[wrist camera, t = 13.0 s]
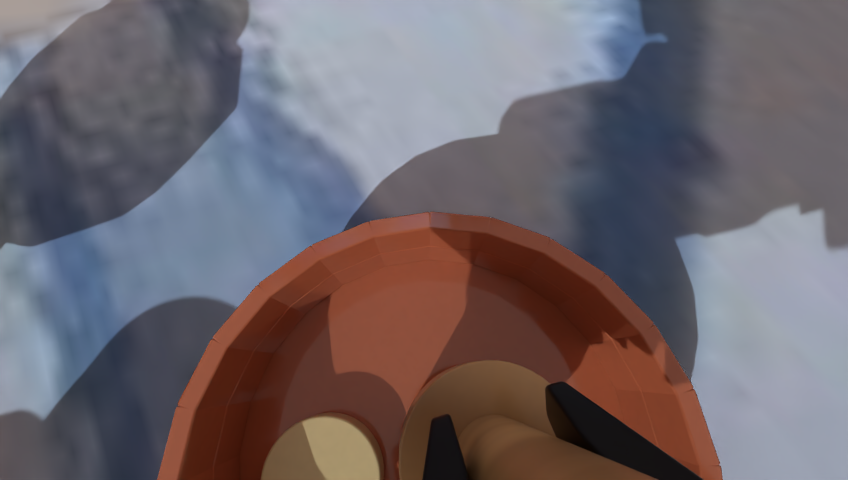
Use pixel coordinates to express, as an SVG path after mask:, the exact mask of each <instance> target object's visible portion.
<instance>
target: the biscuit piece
mask: <svg viewBox="0 0 848 480" xmlns="http://www.w3.org/2000/svg"><path fill="white" fill-rule="evenodd" d="M383 479H384V463H383V457H382V453H381V450H380V447H379V445H378V442H377V441H376V439H375V437H374V435H373V434H372V433H371V431H370V430H369V429H368V428H367V427H366V426H365V425H364V424H363V423H361V422H360V421H359V420H357V419H355V418H353V417H351V416H349V415H346V414H342V413H335V412H328V413H321V414H317V415H314V416H311V417H309V418H306V419H304V420H301V421H299V422H297V423H296V424H294V425H293V426H291V427H290V428H288V429H287V430H286V431H285V432H284V433H283V434H282V435H281V436H280V437H279V438H278V439H277V441H276V442H275V443H274V445H273V446H272V448H271V450H270V451H269V453H268V455H267V458H266V460H265V462H264V466H263V469H262V474H261V480H383Z"/></svg>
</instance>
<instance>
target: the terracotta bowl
mask: <svg viewBox="0 0 848 480" xmlns="http://www.w3.org/2000/svg"><path fill="white" fill-rule="evenodd" d="M653 324H654V323H653V322H652V320H651V319H650V318H649V317H648V316H647V315H646V314H645V313H644V312H643V311H642V310H641V309H640V308H639V307H638V306H637V305H636V304H635V303H634V302H633V301H632V300H631V299H630V298H629V297H628V296H627V295H626V294H625V293H624V292H623V291H622V290H621V289H620V288H619V287H618V286H617V285H616V283H615V282H614V281H613V280H612V279H611V278H610V277H609V276H608V275H605V273H604V272H603V271H601V270H599V269H598V268H596V267H595V266H593V265H592V264H590V263H588V262H587V261H585V260H584V259H582V258H581V257H579V256H578V255H576V254H574V253H573V252H571V251H570V250H568V249H567V248H565V247H564V246H562V245H560V244H559V243H557V242H556V241H554V240H553V239H550V238H549V237H547V236H544V235H541V234H538V233H535V232H532V231H530V230H527V229H524V228H521V227H518V226H515V225H512V224H509V223H507V222H504V221H501V220H498V219H495V218H490V217H483V216H473V215H462V214H451V213H441V212H430V213H429V212H424V213H418V214H411V215H405V216H398V217H392V218H385V219H379V220H372V221H370V222H365V223H363V224H361V225H358V226H356V227H353V228H351V229H348V230H346V231H344V232H341V233H339V234H336V235H334V236H332V237H329V238H327V239H324V240H322V241H320V242H317V243H315V244H313V245H312V246H309V247H308V248H306V249H305V250H304V251H302V252H301V253H300V254H298V255H297V256H296V257H294V258H293V259H291V260H290V261H289V262H287V263H286V264H285V265H283V266H282V267H281V268H279V269H278V270H276V271H275V272H274V273H272V274H271V275H270V276H268V277H267V278H266V279H264V280H263V281H261V282H260V283H259V285H257V286H256V287H255V288H254V289H253V290H252V292H251V293H250V294H249V295H248V296H247V297H246V299H245V300H244V301H243V302H242V303H241V304H240V306H239V307H238V308H237V309H236V310H235V311H234V313H233V314H232V315H231V316H230V317H229V318H228V320H227V321H226V322H225V323H224V324H223V325H222V327H221V328H220V329H219V330H218V331H217V332H216V334H215V335H214V336H213V339H211V340H210V342H209V344H208V346H207V348H206V350H205V352H204V354H203V356H202V358H201V360H200V362H199V363H198V365H197V367H196V369H195V371H194V373H193V375H192V377H191V379H190V381H189V383H188V385H187V386H186V388H185V390H184V392H183V394H182V396H181V398H180V400H179V402H178V405H179V406H177V407H176V410H175V413H174V417H173V421H172V425H171V429H170V432H169V436H168V440H167V444H166V448H165V451H164V455H163V459H162V463H161V467H160V470H159V474H158V478H157V480H261V474H262V469H263V466H264V462H265V460H266V458H267V455H268V453H269V451H270V450H271V448H272V446H273V445H274V443H275V442H276V441H277V439H278V438H279V437H280V436H281V435H282V434H283V433H284V432H285V431H286V430H287V429H288V428H290V427H291V426H293V425H294V424H296V423H297V422H299V421H301V420H304V419H306V418H309V417H311V416H314V415H317V414H321V413H328V412H335V413H342V414H346V415H349V416H351V417H353V418H355V419H357V420H359V421H360V422H361V423H363V424H364V425H365V426H366V427H367V428H368V429H369V430H370V431H371V433H372V434H373V435H374V437H375V439H376V441H377V442H378V445H379V447H380V450H381V453H382V457H383V463H384V479H383V480H400V475H399V445H400V437H401V431H402V427H403V424H404V420H405V417H406V415H407V413H408V410H409V408H410V406H411V404H412V403H413V401H414V399H415V398H416V396H417V395H418V394H419V392H420V391H421V390H422V389H423V388H424V387H425V386H426V384H427V383H428V382H429V381H431V380H432V379H433V378H435V377H436V376H437V375H438V374H440V373H442V372H444V371H445V370H447V369H449V368H452V367H454V366H456V365H460V364H464V363H468V362H474V361H482V360H499V361H505V362H510V363H514V364H517V365H520V366H522V367H525V368H527V369H529V370H531V371H533V372H535V373H536V374H538V375H540V376H541V377H543V378H544V379H545V380H546V381H548V382H549V383H550V384H553V383H556V382H560V381H563V382H566V383H567V384H569V385H570V386H571V387H573V388H574V389H576V390H577V391H579V392H580V393H581V394H583V395H584V396H586V397H587V398H589V399H590V400H591V401H593V402H594V403H596V404H597V405H598V406H600V407H601V408H603V409H604V410H606V411H607V412H608V413H610V414H611V415H613V416H614V417H616V418H617V419H618V420H620V421H621V422H623V423H624V424H625V425H627V426H628V427H630V428H631V429H633V430H634V431H635V432H637V433H638V434H640V435H641V436H643V437H644V438H645V439H647V440H648V441H650V442H651V443H653V444H654V445H655V446H657V447H658V448H660V449H661V450H662V451H664V452H665V453H667V454H668V455H670V456H671V457H672V458H674V459H675V460H677V461H678V462H680V463H681V464H682V465H684V466H685V467H687V468H688V469H689V470H691V471H692V472H694V473H695V474H697V475H698V476H699V477H701V478H702V479H704V480H723V479H722V469H721V466H720V465H719V464H720V462H719V459H718V456H717V453H716V450H715V447H714V444H713V442H712V439H711V436H710V433H709V430H708V427H707V424H706V421H705V418H704V415H703V412H702V409H701V406H700V403H699V400H698V398H697V395H696V392H695V390H694V389H693V385H692V384H691V382H690V380H689V379H688V377H687V376H686V374H685V372H684V371H683V369H682V367H681V366H680V364H679V362H678V361H677V359H676V358H675V356H674V354H673V353H672V351H671V349H670V348H669V346H668V345H667V343H666V341H665V340H664V338H663V336H662V335H661V333H660V331H659V330H658V328H657V327H656V326H655V325H653Z"/></svg>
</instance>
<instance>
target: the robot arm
mask: <svg viewBox="0 0 848 480" xmlns="http://www.w3.org/2000/svg"><path fill="white" fill-rule="evenodd" d="M545 398H546V412H547V416H548V419H549V422H550V424H551V426H552V429H553V431H554V433H555V435H556V437H557V438H559V439H561V440H564V441H566V442H569V443H571V444H574V445H576V446H578V447H581V448H583V449H586V450H588V451H590V452H593V453H595V454H598V455H600V456H603V457H605V458H607V459H610V460H612V461H615V462H617V463H619V464H622V465H624V466H627V467H629V468H632V469H634V470H636V471H639V472H641V473H644V474H646V475H648V476H651V477H653V478H656V479H658V480H704V479H702V478H701V477H699V476H698V475H697V474H695V473H694V472H692V471H691V470H689V469H688V468H687V467H685V466H684V465H682V464H681V463H680V462H678V461H677V460H675V459H674V458H672V457H671V456H670V455H668V454H667V453H665V452H664V451H662V450H661V449H660V448H658V447H657V446H655V445H654V444H653V443H651V442H650V441H648V440H647V439H645V438H644V437H643V436H641V435H640V434H638V433H637V432H635V431H634V430H633V429H631V428H630V427H628V426H627V425H625V424H624V423H623V422H621V421H620V420H618V419H617V418H616V417H614V416H613V415H611V414H610V413H608V412H607V411H606V410H604V409H603V408H601V407H600V406H598V405H597V404H596V403H594V402H593V401H591V400H590V399H589V398H587V397H586V396H584V395H583V394H581V393H580V392H579V391H577V390H576V389H574V388H573V387H571V386H570V385H569V384H567V383H566V382H563V381H560V382H556V383H553V384H549V385H547V386H546V388H545ZM422 480H469V478H468V473H467V469H466V465H465V461H464V458H463V454H462V451H461V448H460V444H459V441H458V438H457V435H456V431H455V428H454V425H453V422H452V418H451V416H450V415H449V414H444V415H441V416H437V417H434V418H433V419H432V421H431V425H430V432H429V438H428V445H427V451H426V458H425V464H424V471H423V477H422Z"/></svg>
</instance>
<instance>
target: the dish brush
mask: <svg viewBox="0 0 848 480" xmlns="http://www.w3.org/2000/svg"><path fill="white" fill-rule="evenodd" d="M549 384H550V383H549V382H548V381H546V380H545V379H544V378H543V377H541V376H540V375H538V374H536V373H535V372H533V371H531V370H529V369H527V368H525V367H522V366H520V365H517V364H514V363H510V362H505V361H499V360H482V361H474V362H468V363H464V364H460V365H456V366H454V367H452V368H449V369H447V370H445V371H444V372H442V373H440V374H438V375H437V376H436V377H435V378H433V379H432V380H431V381H429V382H428V383H427V384H426V386H425V387H424V388H423V389H422V390H421V391H420V392H419V394H418V395H417V396H416V398H415V399H414V401H413V403H412V404H411V406H410V408H409V410H408V413H407V415H406V417H405V420H404V424H403V427H402V431H401V437H400V445H399V475H400V480H422V477H423V471H424V464H425V458H426V451H427V445H428V438H429V432H430V425H431V421H432V419H433V418H434V417H437V416H441V415H444V414H449V415H450V416H451V418H452V422H453V425H454V428H455V431H456V435H457V438H458V441H459V444H460V448H461V451H462V454H463V458H464V461H465V465H466V469H467V473H468V478H469V480H658V479H656V478H653V477H651V476H648V475H646V474H644V473H641V472H639V471H636V470H634V469H632V468H629V467H627V466H624V465H622V464H619V463H617V462H615V461H612V460H610V459H607V458H605V457H603V456H600V455H598V454H595V453H593V452H590V451H588V450H586V449H583V448H581V447H578V446H576V445H574V444H571V443H569V442H566V441H564V440H561V439H559V438H557V437H556V435H555V433H554V431H553V429H552V426H551V424H550V422H549V419H548V416H547V412H546V398H545V388H546V386H547V385H549Z"/></svg>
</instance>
